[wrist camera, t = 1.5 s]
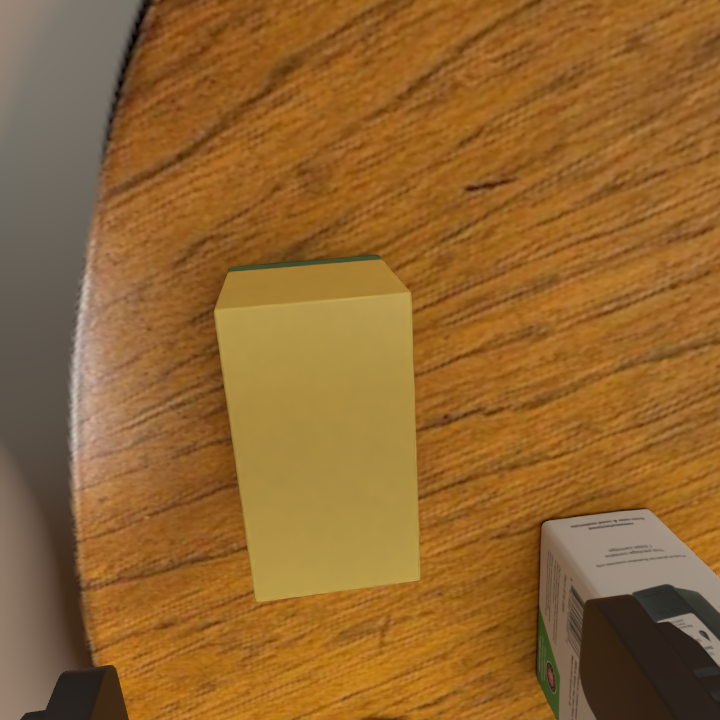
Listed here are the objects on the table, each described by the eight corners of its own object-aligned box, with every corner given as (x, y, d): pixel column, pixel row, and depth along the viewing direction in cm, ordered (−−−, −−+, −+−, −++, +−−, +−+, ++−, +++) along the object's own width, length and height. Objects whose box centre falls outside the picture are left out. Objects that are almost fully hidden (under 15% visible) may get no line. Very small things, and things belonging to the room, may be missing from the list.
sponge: (228, 266, 21) (212, 310, 15) (379, 254, 21) (412, 292, 16) (259, 502, 24) (255, 604, 18) (390, 487, 24) (421, 581, 19)
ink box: (634, 663, 29) (858, 992, 18) (531, 679, 28) (694, 1027, 17) (654, 501, 26) (937, 774, 15) (539, 515, 25) (742, 808, 14)
